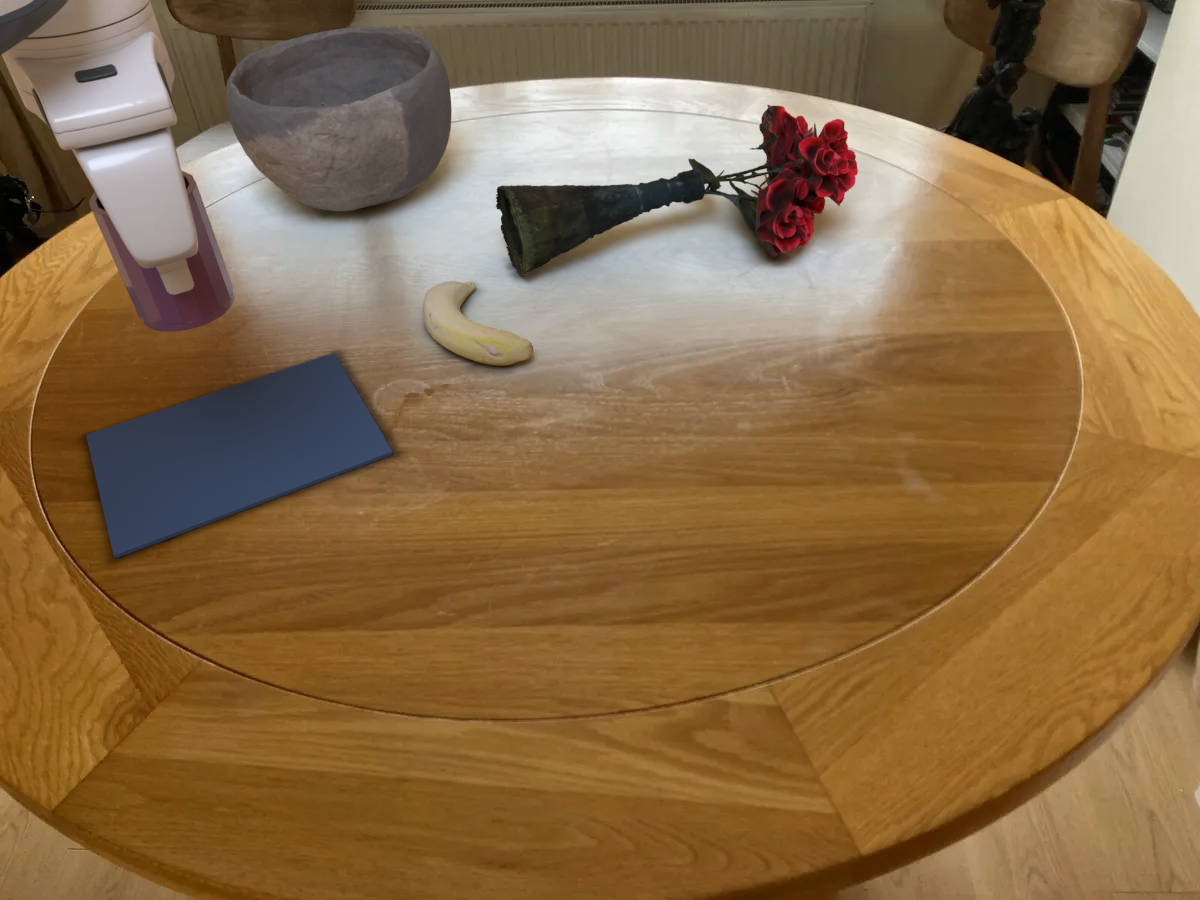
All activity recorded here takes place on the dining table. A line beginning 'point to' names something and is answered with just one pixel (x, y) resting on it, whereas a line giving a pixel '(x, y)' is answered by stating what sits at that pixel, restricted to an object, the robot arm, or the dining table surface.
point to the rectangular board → (230, 452)
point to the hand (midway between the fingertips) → (169, 261)
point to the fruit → (469, 328)
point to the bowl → (343, 115)
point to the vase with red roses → (691, 195)
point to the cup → (147, 285)
